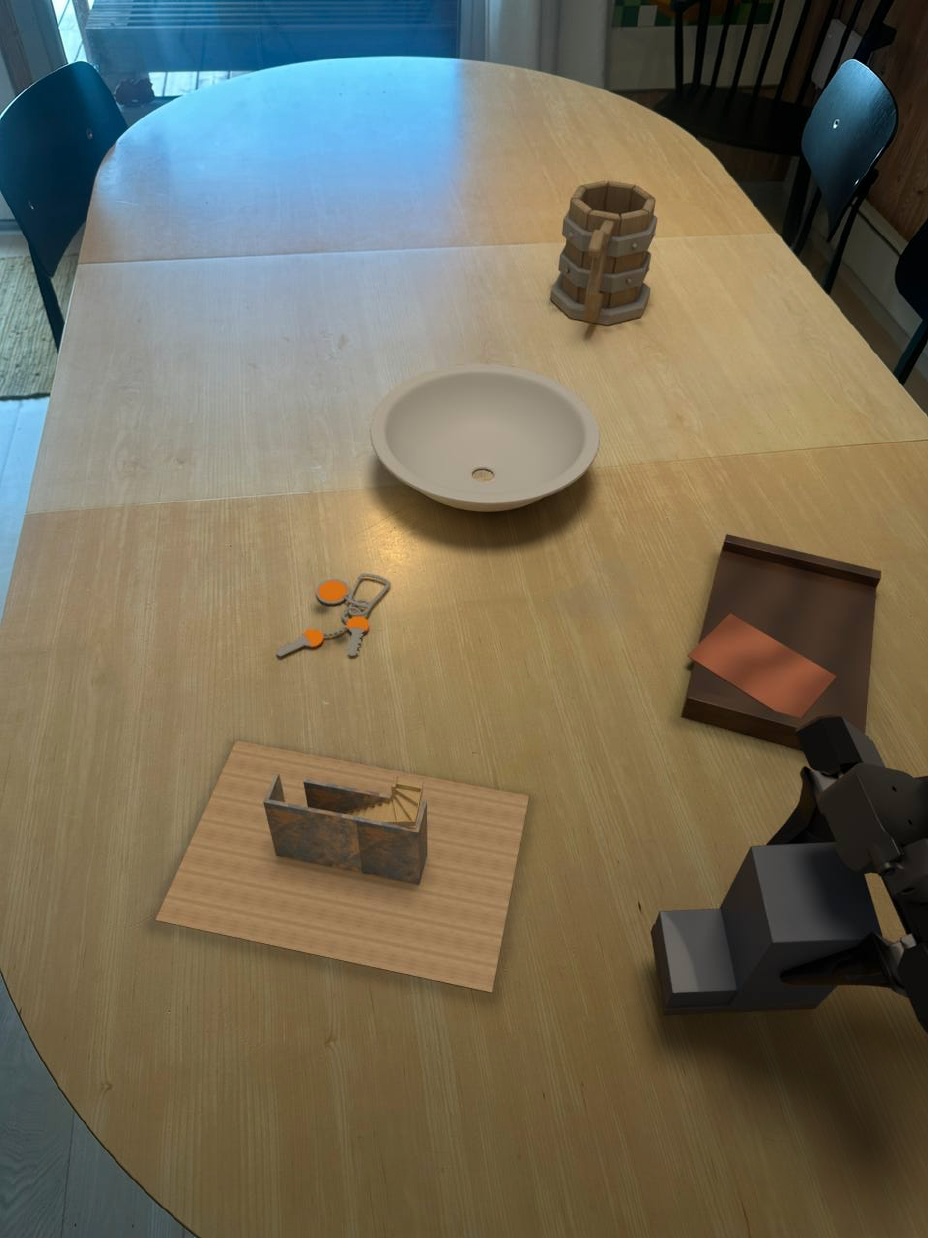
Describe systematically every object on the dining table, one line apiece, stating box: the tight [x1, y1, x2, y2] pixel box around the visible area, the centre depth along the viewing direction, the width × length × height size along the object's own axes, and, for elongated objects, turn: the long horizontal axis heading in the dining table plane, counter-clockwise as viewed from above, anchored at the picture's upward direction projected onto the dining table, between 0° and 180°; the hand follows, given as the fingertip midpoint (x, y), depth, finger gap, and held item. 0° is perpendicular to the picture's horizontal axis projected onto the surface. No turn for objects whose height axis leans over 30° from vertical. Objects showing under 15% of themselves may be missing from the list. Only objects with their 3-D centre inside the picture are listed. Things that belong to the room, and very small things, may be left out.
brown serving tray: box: [680, 533, 882, 751], centre depth 89 cm, size 16×22×3 cm
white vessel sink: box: [369, 363, 601, 513], centre depth 103 cm, size 24×24×7 cm
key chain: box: [275, 572, 392, 658], centre depth 91 cm, size 13×7×1 cm, turn 158°
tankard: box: [549, 179, 658, 326], centre depth 124 cm, size 20×13×15 cm, turn 162°
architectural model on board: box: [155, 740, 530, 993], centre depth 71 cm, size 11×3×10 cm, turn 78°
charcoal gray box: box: [650, 842, 884, 1017], centre depth 59 cm, size 10×6×14 cm, turn 92°
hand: (764, 925), depth 59 cm, fingers closed on charcoal gray box, 6 cm apart
